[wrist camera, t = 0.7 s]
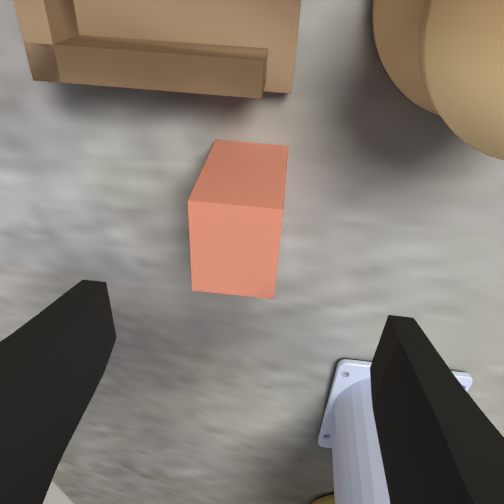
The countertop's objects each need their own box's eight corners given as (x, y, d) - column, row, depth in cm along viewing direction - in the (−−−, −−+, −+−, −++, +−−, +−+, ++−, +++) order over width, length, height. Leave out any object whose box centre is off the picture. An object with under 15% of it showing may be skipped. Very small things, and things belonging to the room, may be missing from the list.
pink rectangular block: (280, 223, 21) (273, 299, 16) (215, 217, 21) (192, 290, 16) (288, 145, 18) (283, 209, 14) (215, 139, 18) (187, 200, 14)
